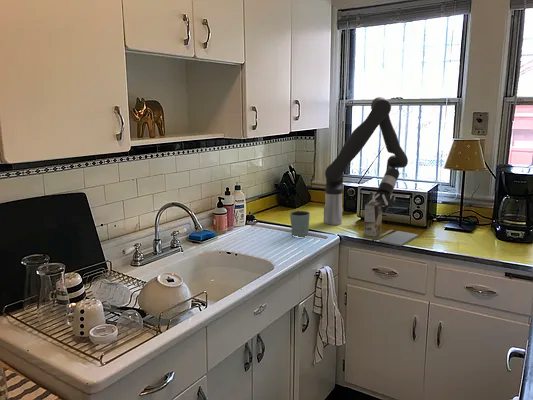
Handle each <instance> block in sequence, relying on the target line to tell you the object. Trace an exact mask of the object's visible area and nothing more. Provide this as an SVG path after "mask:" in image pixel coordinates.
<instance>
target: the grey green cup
mask: <svg viewBox="0 0 533 400" xmlns="http://www.w3.org/2000/svg"><path fill="white" fill-rule="evenodd" d="M310 215H311V213H310V212H309V211H306V210H296V211H295V210H294V211H291V212H290V213H289V217H290V218H289V219H290V228H291V236H292V235H294V236H298V237H305V236H307V235H308V236H309V234H308V232H309V230H310V229H309V227H310V218H311V217H310ZM309 233H310V232H309Z"/></svg>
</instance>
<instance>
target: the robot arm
mask: <svg viewBox="0 0 533 400" xmlns="http://www.w3.org/2000/svg"><path fill="white" fill-rule="evenodd" d="M370 109H371V110H370V111H369V112H370V113H369V114H368V115H367V117H366V119H364V121H363V122H362V123H360V124H359V125H358V126H357V127H356V128H355V129H354V130H353V131H352V132H351V134H349V136H348V138H346V139H347V140H346V141H345V143H344V144H343V145H342V148H341V150H340V152H339V153H338V155H337V156H336V158H335V159H334V160H333V161H332V162H331V163H330V164H329V165H328V166H327V167H326V168H325V171H324V177H325V178H326V179H325V182H326V183H325V190H324V191H325V198H324V199H325V200H324V201H325V202H324V203H325V205H324V206H323V223H325V224H326V225H329V224H330V225H331V226H337V225H341V224H342V223H343V219H342V218H343V188H344V172H345V170H346V169H347V168H348V166H349V165H350V163H351V162H352V161H353V160H354V159H355V158H356V157H357V155H359V153H360V152H361V151H362V149H363V148H364V147H365V146H366V144H367V143H368V141H369V140H370V138H371V137H372V135H373V134H374V132H375V131H376V129H377V128H378V127H379V128H380V131H381V135H382V137H383V142H384V144H385V148H386V151H387V152H388V153H390V154H392V155H390V156H389V157H388V158H387V163H386V170H385V173H384V175H383V177H382V178H381V181H380V183H379V186H378V188H377V190H376V193H373V192H371V191H370V193H369V195H368V196H367V199H366V202H367V203H369V202H371V201H372V202H382V204H385V205H384V207H383V208H382V214H386V213H387V212H388V210H389V208H393V207H394V205H395V202H396V199H397V198H396V196H395V195H394V194H393V192H394V189H395V187H396V184H397V181H398V179H399V177H400V171H399V169H402V168H406V166H408V164H409V163H408V162H409V159H408V156H407V155H406V153H405V151H404V150H403V148H402V147H401V145H400V141H399V138H398V136H397V135H398V134H397V133H396V130H395V128H394V126H393V124H392V120H391V118H390V112H391V111H392V104H391V102H390V101H389V100H388V99H386V98H385V97H382V96H379V97H376V98H375V99H372V101H371V104H370ZM367 203H366V204H367Z"/></svg>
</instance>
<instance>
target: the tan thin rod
mask: <svg viewBox="0 0 533 400" xmlns="http://www.w3.org/2000/svg"><path fill="white" fill-rule="evenodd" d="M393 232H394V229H389V230H387V231H386V232H384V233H382V234H381V233H380V235H379V234H378V235H377V236H376V237H374V238H371V239H370V242H375V241H376V239H377V240H380V238H381V239H382V237H383V238H384V236H385V237H386V235H387V236H388V235H389V234H390V233H393ZM374 240H375V241H374Z"/></svg>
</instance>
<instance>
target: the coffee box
mask: <svg viewBox="0 0 533 400" xmlns="http://www.w3.org/2000/svg"><path fill="white" fill-rule="evenodd" d="M382 215H383V203H382V202H372V201H371V202H369V203H365V204H364V225H363V226H364V227H363V228H364V229H363V231H364V232H363V234H364V235H363V236H368V237H369V236H370V237H374V238H376V237H377V236H379V234H381V233H382V218H383V216H382Z"/></svg>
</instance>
